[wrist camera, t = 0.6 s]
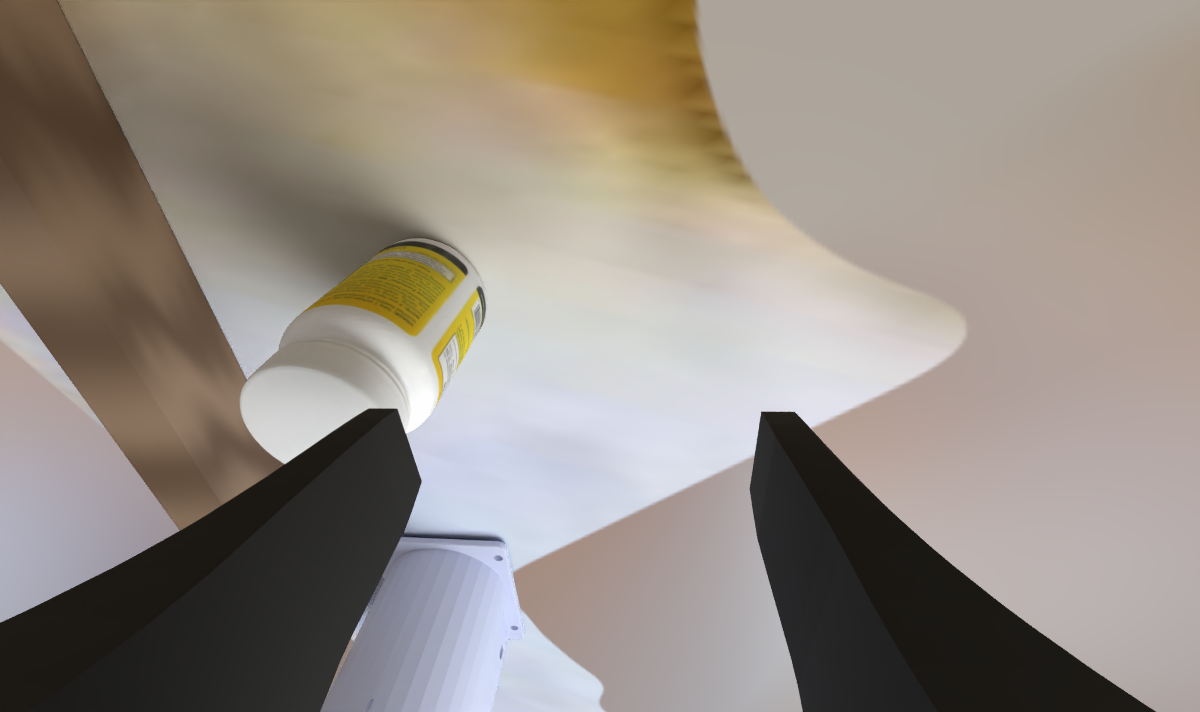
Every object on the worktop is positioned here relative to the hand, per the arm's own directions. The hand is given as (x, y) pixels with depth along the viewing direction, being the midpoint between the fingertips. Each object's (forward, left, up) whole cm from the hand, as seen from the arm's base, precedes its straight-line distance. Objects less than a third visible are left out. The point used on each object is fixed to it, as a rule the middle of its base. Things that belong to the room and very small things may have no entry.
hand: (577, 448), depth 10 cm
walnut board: (-1, +19, -10) cm, 21 cm away
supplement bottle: (-1, +7, -11) cm, 13 cm away
